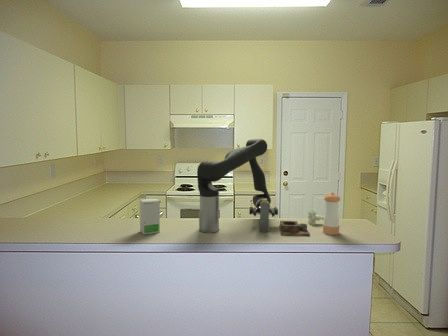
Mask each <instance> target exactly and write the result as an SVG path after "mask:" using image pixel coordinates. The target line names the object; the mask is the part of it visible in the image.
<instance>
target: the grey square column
mask: <svg viewBox="0 0 448 336" xmlns="http://www.w3.org/2000/svg"><path fill="white" fill-rule="evenodd" d="M269 216H270V215H269V202H267V199H262V201H260V215H259V232H260V233H269V228H270V227H269V225H270V223H269V222H270V220H269V219H270V217H269Z"/></svg>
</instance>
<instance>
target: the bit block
mask: <svg viewBox="0 0 448 336" xmlns="http://www.w3.org/2000/svg"><path fill="white" fill-rule="evenodd" d="M279 222H280V224H279V225H278V230H279V233H280V236H292V235H296V236H301V237H310V236H311V235H310V232H309V230H308V224H307V223H298V221H297V220H280V221H279ZM296 236H295V237H296Z"/></svg>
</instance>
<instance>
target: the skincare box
mask: <svg viewBox="0 0 448 336" xmlns="http://www.w3.org/2000/svg"><path fill="white" fill-rule="evenodd" d="M160 212H161V211H160V200H159V199H158V198H145V199H144V198H143V199H139V231H140V232H141V233H142V234H143V235H151V234H159V233H160V232H161V229H160V228H161V226H160V225H161V224H160V223H161V222H160V219H161V218H160V217H161V216H160V214H161V213H160Z"/></svg>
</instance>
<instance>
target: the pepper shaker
mask: <svg viewBox="0 0 448 336" xmlns="http://www.w3.org/2000/svg"><path fill="white" fill-rule="evenodd" d="M324 201H325V212H324V215H323V216H324V220H323V224H322V233H323V234H326V235H329V236H335V235H339V234H340V225H339V222H340V220H339V219H340V217H339V202H340V201H341V197H340V195H338V194H335V193H334V192H330V193H328V194H326V195H325V196H324Z"/></svg>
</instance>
